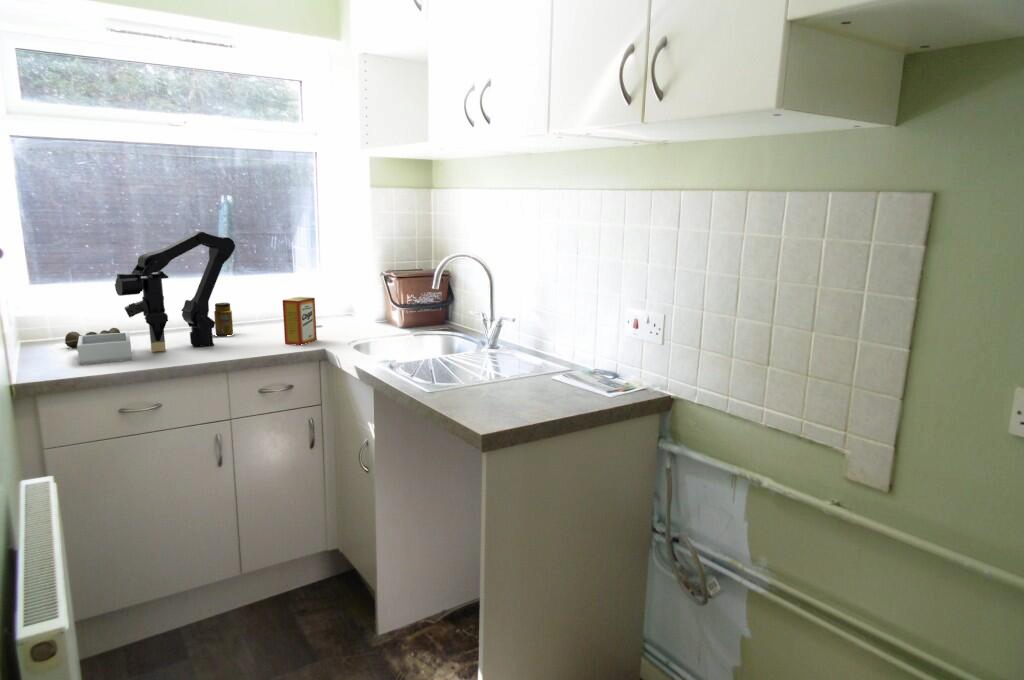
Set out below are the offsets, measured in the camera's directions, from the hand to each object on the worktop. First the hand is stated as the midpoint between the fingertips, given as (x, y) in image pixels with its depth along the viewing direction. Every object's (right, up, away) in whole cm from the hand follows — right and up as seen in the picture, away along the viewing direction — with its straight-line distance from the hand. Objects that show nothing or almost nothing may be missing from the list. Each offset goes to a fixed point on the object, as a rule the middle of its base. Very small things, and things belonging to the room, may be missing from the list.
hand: (157, 339), depth 222 cm
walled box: (-12, -5, -8) cm, 16 cm away
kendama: (-27, -2, +10) cm, 29 cm away
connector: (0, -3, +1) cm, 4 cm away
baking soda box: (+42, -1, +18) cm, 46 cm away
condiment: (+9, +1, +30) cm, 32 cm away
